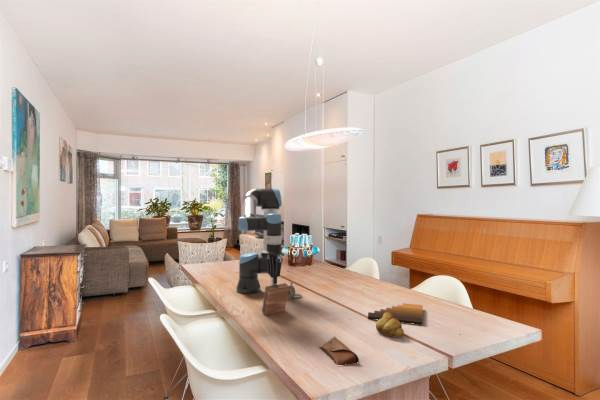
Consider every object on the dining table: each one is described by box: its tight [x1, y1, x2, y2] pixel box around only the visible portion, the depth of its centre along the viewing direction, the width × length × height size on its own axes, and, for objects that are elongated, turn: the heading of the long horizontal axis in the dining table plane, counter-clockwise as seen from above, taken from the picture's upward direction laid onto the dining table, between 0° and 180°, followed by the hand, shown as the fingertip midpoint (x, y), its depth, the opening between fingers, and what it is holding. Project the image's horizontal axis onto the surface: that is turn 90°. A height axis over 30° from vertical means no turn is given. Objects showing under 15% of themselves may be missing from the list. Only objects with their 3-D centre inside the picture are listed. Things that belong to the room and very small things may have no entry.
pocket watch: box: [288, 281, 303, 299], centre depth 204 cm, size 8×8×10 cm
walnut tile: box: [261, 282, 290, 316], centre depth 177 cm, size 4×12×14 cm, turn 127°
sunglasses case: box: [318, 336, 360, 366], centre depth 130 cm, size 18×7×7 cm
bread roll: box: [375, 312, 405, 339], centre depth 150 cm, size 13×10×8 cm
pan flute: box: [367, 302, 424, 325], centre depth 176 cm, size 25×3×25 cm
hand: (273, 289), depth 178 cm, fingers closed
